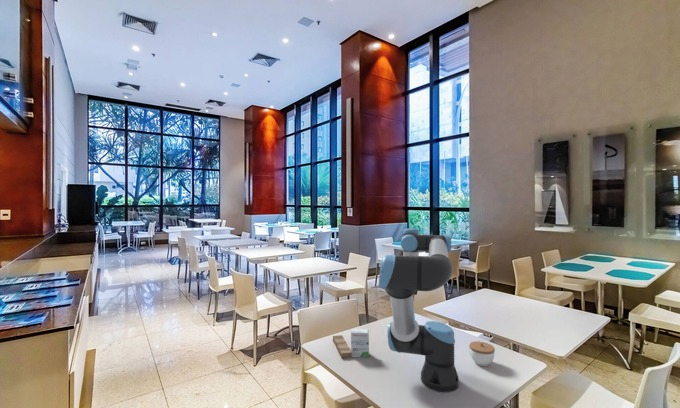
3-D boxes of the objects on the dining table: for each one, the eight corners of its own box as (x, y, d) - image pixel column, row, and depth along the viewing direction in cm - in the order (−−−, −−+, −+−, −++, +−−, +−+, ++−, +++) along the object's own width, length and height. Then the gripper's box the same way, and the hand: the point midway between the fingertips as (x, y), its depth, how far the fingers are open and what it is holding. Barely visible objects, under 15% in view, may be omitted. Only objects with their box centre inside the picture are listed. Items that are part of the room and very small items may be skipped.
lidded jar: (497, 370, 141) (497, 349, 141) (471, 367, 144) (471, 346, 144) (491, 358, 152) (491, 339, 152) (467, 356, 154) (467, 336, 154)
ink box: (369, 352, 158) (368, 328, 158) (368, 357, 153) (368, 333, 153) (351, 352, 159) (351, 328, 159) (350, 356, 154) (350, 332, 154)
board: (351, 357, 153) (351, 352, 153) (341, 358, 152) (341, 353, 152) (341, 339, 173) (341, 335, 173) (332, 340, 172) (332, 336, 172)
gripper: (424, 261, 153) (424, 311, 153) (410, 257, 165) (410, 303, 165) (411, 262, 151) (410, 312, 151) (397, 258, 163) (397, 304, 163)
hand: (410, 307), depth 158 cm, fingers closed
